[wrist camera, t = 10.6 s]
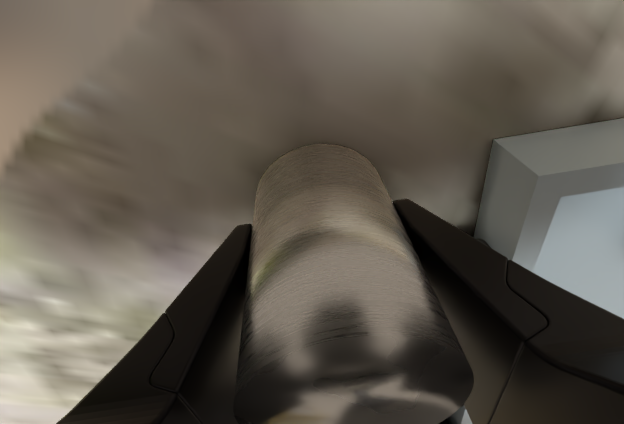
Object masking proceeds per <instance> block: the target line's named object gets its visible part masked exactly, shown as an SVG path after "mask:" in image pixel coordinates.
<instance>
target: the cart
mask: <svg viewBox="0 0 624 424" xmlns="http://www.w3.org/2000/svg"><path fill="white" fill-rule="evenodd" d="M473 238H475V239H477V240H478V241H480V242H482V243H483V244H485V245H487V246H488V247H490V248H492V249H494V250H495V251H497V252H499V253H500V254H502V255H504V256H505V257H507V258H508V260H512V261H514V262H516V263H517V264H519V265H521V266H522V267H524V268H526V269H528V270H529V271H531V272H533V273H535V274H537V275H538V276H540V277H542V278H544V279H545V280H547V281H549V282H551V283H553V284H555V285H557V286H559V287H561V288H563V289H565V290H567V291H569V292H571V293H573V294H575V295H577V296H579V297H581V298H583V299H585V300H587V301H589V302H591V303H593V304H595V305H597V306H599V307H601V308H603V309H605V310H607V311H609V312H611V313H613V314H615V315H617V316H619V317H621V318H623V319H624V118H621V119H615V120H609V121H603V122H597V123H591V124H584V125H578V126H572V127H566V128H560V129H554V130H548V131H542V132H536V133H530V134H523V135H517V136H511V137H505V138H499V139H493V144H492V149H491V154H490V159H489V163H488V168H487V173H486V178H485V183H484V188H483V193H482V198H481V203H480V208H479V213H478V218H477V223H476V228H475V233H474V237H473ZM447 420H448V422H449V424H472V422H471V419H470V417H469V415H468V413H467V410H466V408H465V406H464V404H463V405H462V406H461V407H460V408H459V409H458V410H457V411H456V412H454V413H453V414H452V415H451V416H449V417H448V418H447Z"/></svg>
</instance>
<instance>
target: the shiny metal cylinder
mask: <svg viewBox="0 0 624 424" xmlns="http://www.w3.org/2000/svg"><path fill="white" fill-rule="evenodd" d="M473 384H474V374H473V371H472V369H471V366H470V364H469V362H468V360H467V358H466V356H465V354H464V352H463V350H462V348H461V345H460V343H459V341H458V339H457V337H456V335H455V333H454V331H453V329H452V327H451V324H450V322H449V320H448V318H447V316H446V314H445V312H444V310H443V308H442V306H441V304H440V301H439V299H438V297H437V295H436V293H435V291H434V289H433V287H432V285H431V283H430V281H429V278H428V276H427V274H426V272H425V270H424V268H423V266H422V264H421V262H420V260H419V257H418V255H417V253H416V251H415V249H414V247H413V245H412V243H411V241H410V239H409V237H408V234H407V232H406V230H405V228H404V226H403V224H402V222H401V220H400V218H399V216H398V213H397V211H396V209H395V207H394V205H393V203H392V201H391V199H390V197H389V195H388V193H387V190H386V188H385V186H384V184H383V182H382V180H381V178H380V176H379V174H378V172H377V170H376V169H375V167H374V166H373V165H372V164H371V162H370V161H369V160H368V159H366V158H365V157H364V156H363V155H361V154H360V153H358V152H356V151H354V150H352V149H350V148H347V147H344V146H340V145H334V144H312V145H307V146H303V147H300V148H297V149H294V150H292V151H290V152H288V153H286V154H284V155H283V156H281V157H280V158H278V159H277V160H276V161H275V162H274V163H272V164H271V165H270V166H269V168H268V169H267V170H266V171H265V173H264V174H263V176H262V177H261V180H260V182H259V184H258V187H257V191H256V199H255V208H254V217H253V227H252V236H251V245H250V255H249V264H248V273H247V283H246V292H245V301H244V310H243V320H242V329H241V338H240V348H239V357H238V366H237V376H236V385H235V394H234V404H233V412H234V417H235V419H236V421H237V423H238V424H438V423H440V422H442V421H443V420H445V419H446V418H448V417H449V416H451V415H452V414H453V413H454V412H456V411H457V410H458V409H459V408H460V407H461V406H462V405H463V404H464V403H465V401H466V400H467V398H468V397H469V396H470V393H471V391H472V389H473Z"/></svg>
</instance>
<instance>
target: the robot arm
mask: <svg viewBox="0 0 624 424" xmlns="http://www.w3.org/2000/svg"><path fill="white" fill-rule="evenodd" d="M393 205H394V207H395V209H396V211H397V213H398V216H399V218H400V220H401V222H402V224H403V226H404V228H405V230H406V232H407V234H408V237H409V239H410V241H411V243H412V245H413V247H414V249H415V251H416V253H417V255H418V257H419V260H420V262H421V264H422V266H423V268H424V270H425V272H426V274H427V276H428V278H429V281H430V283H431V285H432V287H433V289H434V291H435V293H436V295H437V297H438V299H439V301H440V304H441V306H442V308H443V310H444V312H445V314H446V316H447V318H448V320H449V322H450V324H451V327H452V329H453V331H454V333H455V335H456V337H457V339H458V341H459V343H460V345H461V348H462V350H463V352H464V354H465V356H466V358H467V360H468V362H469V364H470V366H471V369H472V371H473V374H474V384H473V389H472V391H471V393H470V396H469V397H468V398H467V400H466V401H465V403H464V406H465V408H466V410H467V413H468V415H469V417H470V419H471V422H472V424H624V319H623V318H621V317H619V316H617V315H615V314H613V313H611V312H609V311H607V310H605V309H603V308H601V307H599V306H597V305H595V304H593V303H591V302H589V301H587V300H585V299H583V298H581V297H579V296H577V295H575V294H573V293H571V292H569V291H567V290H565V289H563V288H561V287H559V286H557V285H555V284H553V283H551V282H549V281H547V280H545V279H544V278H542V277H540V276H538V275H537V274H535V273H533V272H531V271H529V270H528V269H526V268H524V267H522V266H521V265H519V264H517V263H516V262H514V261H512V260H508V258H507V257H505V256H504V255H502V254H500V253H499V252H497V251H495V250H494V249H492V248H490V247H488V246H487V245H485V244H483V243H482V242H480V241H478V240H477V239H475V238H473V237H472V236H470V235H468V234H467V233H465V232H463V231H461V230H460V229H458V228H456V227H455V226H453V225H451V224H450V223H448V222H446V221H445V220H443V219H441V218H440V217H438V216H436V215H434V214H433V213H431V212H429V211H428V210H426V209H424V208H423V207H421V206H419V205H418V204H416V203H414V202H413V201H411V200H409V199H401V200H395V201H394V202H393ZM252 227H253V226H252V225H251V224H244V225H238V226H237V227H236V228H235V229H234V230H233V231H232V232H231V234H230V235H229V236H228V237H227V238H226V239H225V241H224V242H223V243H222V244H221V245H220V247H219V248H218V249H217V250H216V251H215V252H214V254H213V255H212V256H211V257H210V258H209V260H208V261H207V262H206V263H205V264H204V266H203V267H202V268H201V269H200V270H199V271H198V273H197V274H196V275H195V276H194V277H193V279H192V280H191V281H190V282H189V283H188V284H187V286H186V287H185V288H184V289H183V290H182V292H181V293H180V294H179V295H178V296H177V298H176V299H175V300H174V301H173V302H172V303H171V305H170V306H169V307H168V308H167V309H166V311H165V313H163V314H162V315H161V316H160V318H159V319H158V320H157V321H156V322H155V323H154V325H153V326H152V327H151V328H150V329H149V330H148V331H147V333H146V334H145V335H144V336H143V337H142V338H141V339H140V340H139V342H138V343H137V344H136V345H135V346H134V347H133V348H132V349H131V350H130V351H129V352H128V353H127V354H126V355H125V356H124V357H123V358H122V359H121V360H120V362H119V363H118V364H117V365H116V366H115V367H114V368H113V369H112V370H111V371H110V372H109V373H108V374H107V375H106V376H105V377H104V378H103V379H102V380H101V381H100V382H99V383H98V384H97V385H96V386H95V387H94V388H93V389H92V390H91V391H90V392H89V393H88V394H87V395H86V396H85V397H84V398H83V399H82V400H81V401H80V402H79V403H78V404H77V405H76V406H75V407H74V408H73V409H72V410H71V411H70V412H69V413H68V414H67V415H66V416H65V417H63V418H62V419H61V420H60V421H59V422H57V423H56V424H238V423H237V421H236V419H235V417H234V412H233V404H234V394H235V385H236V376H237V366H238V357H239V348H240V338H241V329H242V320H243V310H244V301H245V292H246V283H247V273H248V264H249V255H250V245H251V236H252ZM438 424H449V422H448V420H447V418H446V419H445V420H443V421H442V422H440V423H438Z"/></svg>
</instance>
